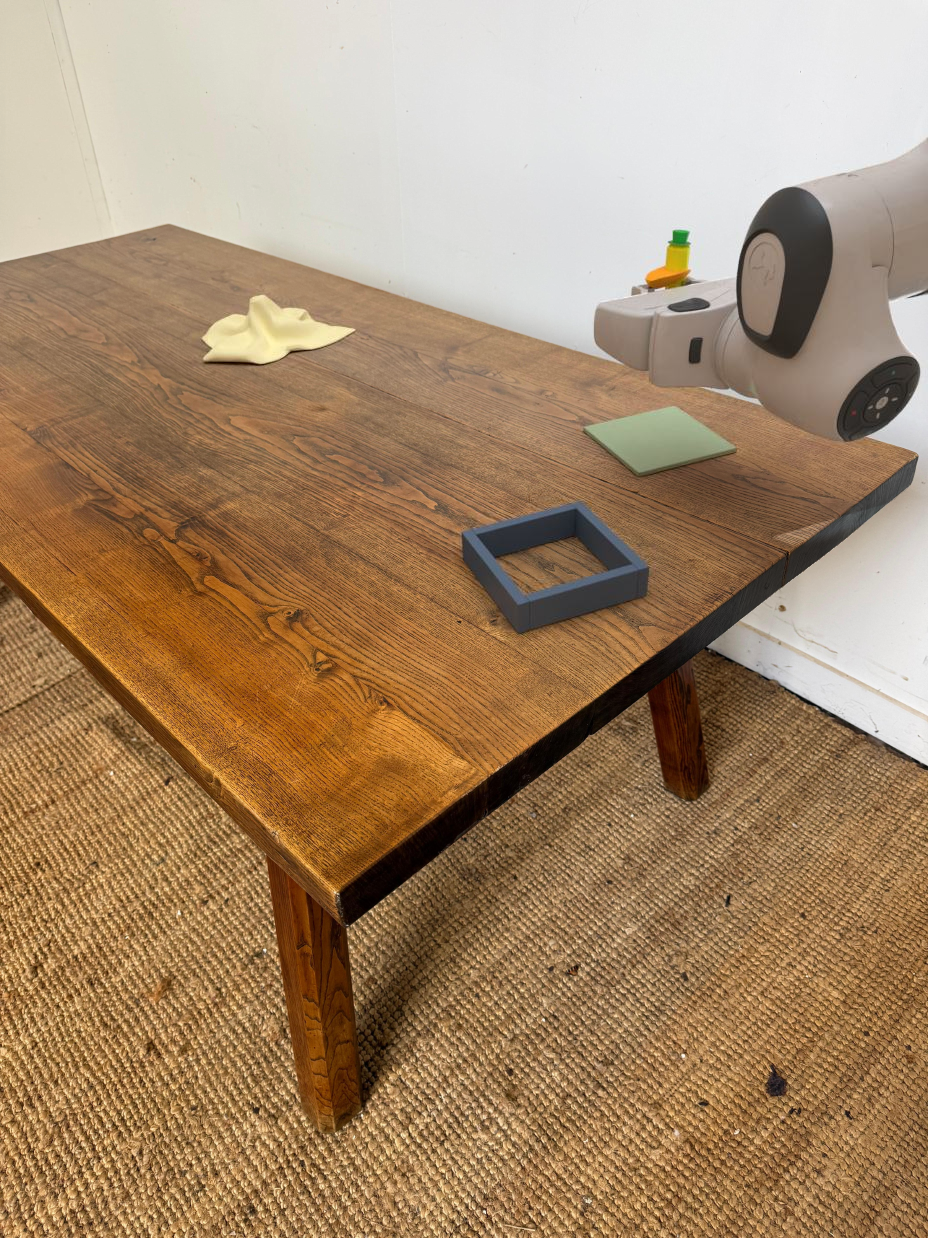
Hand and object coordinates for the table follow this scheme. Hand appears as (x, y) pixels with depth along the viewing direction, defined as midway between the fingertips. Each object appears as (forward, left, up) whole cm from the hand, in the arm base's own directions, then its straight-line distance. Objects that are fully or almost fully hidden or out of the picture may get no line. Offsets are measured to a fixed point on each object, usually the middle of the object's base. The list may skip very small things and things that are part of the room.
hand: (658, 289), depth 85 cm
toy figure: (-1, +1, -7) cm, 7 cm away
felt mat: (-2, -1, -17) cm, 17 cm away
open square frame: (+20, +17, -17) cm, 31 cm away
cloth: (+29, -54, -17) cm, 63 cm away
